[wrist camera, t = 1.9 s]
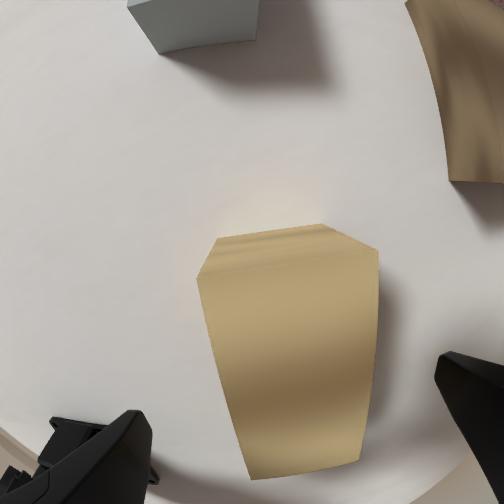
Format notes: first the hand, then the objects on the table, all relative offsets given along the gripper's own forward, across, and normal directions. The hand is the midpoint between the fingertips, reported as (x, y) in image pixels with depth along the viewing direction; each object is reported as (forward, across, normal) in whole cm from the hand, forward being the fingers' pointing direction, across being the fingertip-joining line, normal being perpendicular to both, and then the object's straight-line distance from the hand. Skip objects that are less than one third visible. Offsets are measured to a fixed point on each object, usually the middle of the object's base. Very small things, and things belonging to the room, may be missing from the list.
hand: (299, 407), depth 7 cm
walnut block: (+5, -13, -10) cm, 17 cm away
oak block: (+5, 0, 0) cm, 5 cm away
